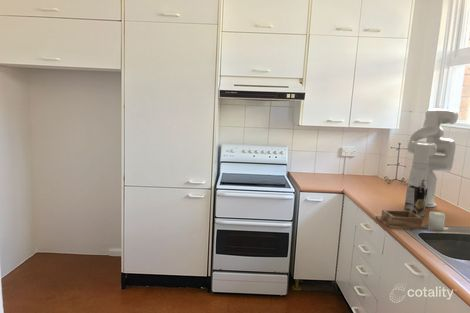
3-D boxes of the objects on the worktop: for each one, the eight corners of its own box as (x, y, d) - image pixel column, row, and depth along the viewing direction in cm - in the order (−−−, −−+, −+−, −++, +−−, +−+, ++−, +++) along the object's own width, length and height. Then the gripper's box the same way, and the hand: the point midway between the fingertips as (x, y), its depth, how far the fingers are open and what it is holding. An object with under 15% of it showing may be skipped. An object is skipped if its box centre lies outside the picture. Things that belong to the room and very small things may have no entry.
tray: (375, 217, 186) (376, 208, 185) (410, 218, 187) (411, 209, 186) (390, 228, 170) (391, 218, 170) (427, 229, 171) (429, 219, 171)
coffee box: (413, 217, 189) (416, 189, 186) (403, 214, 195) (406, 186, 192) (424, 216, 192) (428, 187, 190) (414, 212, 198) (418, 185, 196)
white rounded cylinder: (424, 224, 179) (426, 211, 178) (437, 224, 179) (439, 211, 178) (433, 229, 172) (434, 215, 171) (446, 229, 172) (448, 215, 171)
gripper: (404, 162, 198) (401, 192, 200) (422, 168, 180) (418, 201, 183) (417, 163, 198) (414, 193, 201) (436, 169, 181) (432, 201, 184)
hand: (416, 196), depth 192 cm, fingers closed on coffee box, 8 cm apart
